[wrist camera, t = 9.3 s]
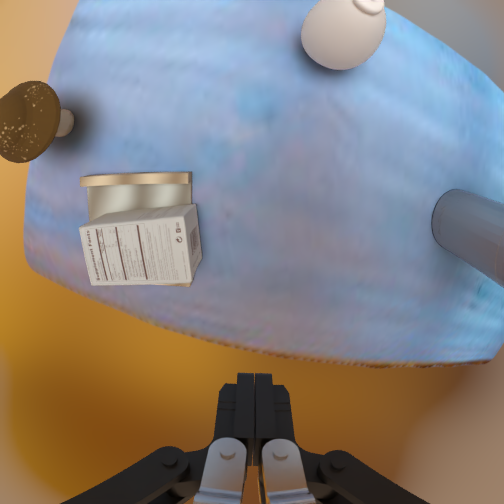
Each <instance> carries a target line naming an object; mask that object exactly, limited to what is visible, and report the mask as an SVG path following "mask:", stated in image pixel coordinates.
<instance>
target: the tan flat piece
mask: <svg viewBox="0 0 504 504" xmlns="http://www.w3.org/2000/svg"><path fill="white" fill-rule="evenodd" d="M83 186H87V194H88V209H89V220H90V221H92V220H94V219H96V218H98V217H100V216H102V215H104V214H106V213H112V212H120V211H129V210H138V209H147V208H157V207H167V206H178V205H189V204H192V172H140V173H117V174H100V175H88V176H84V177H80V187H83ZM192 281H193V280H192ZM191 283H192V282H191ZM191 283H179V284H154V285H169V286H186V287H190V286H191Z"/></svg>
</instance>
